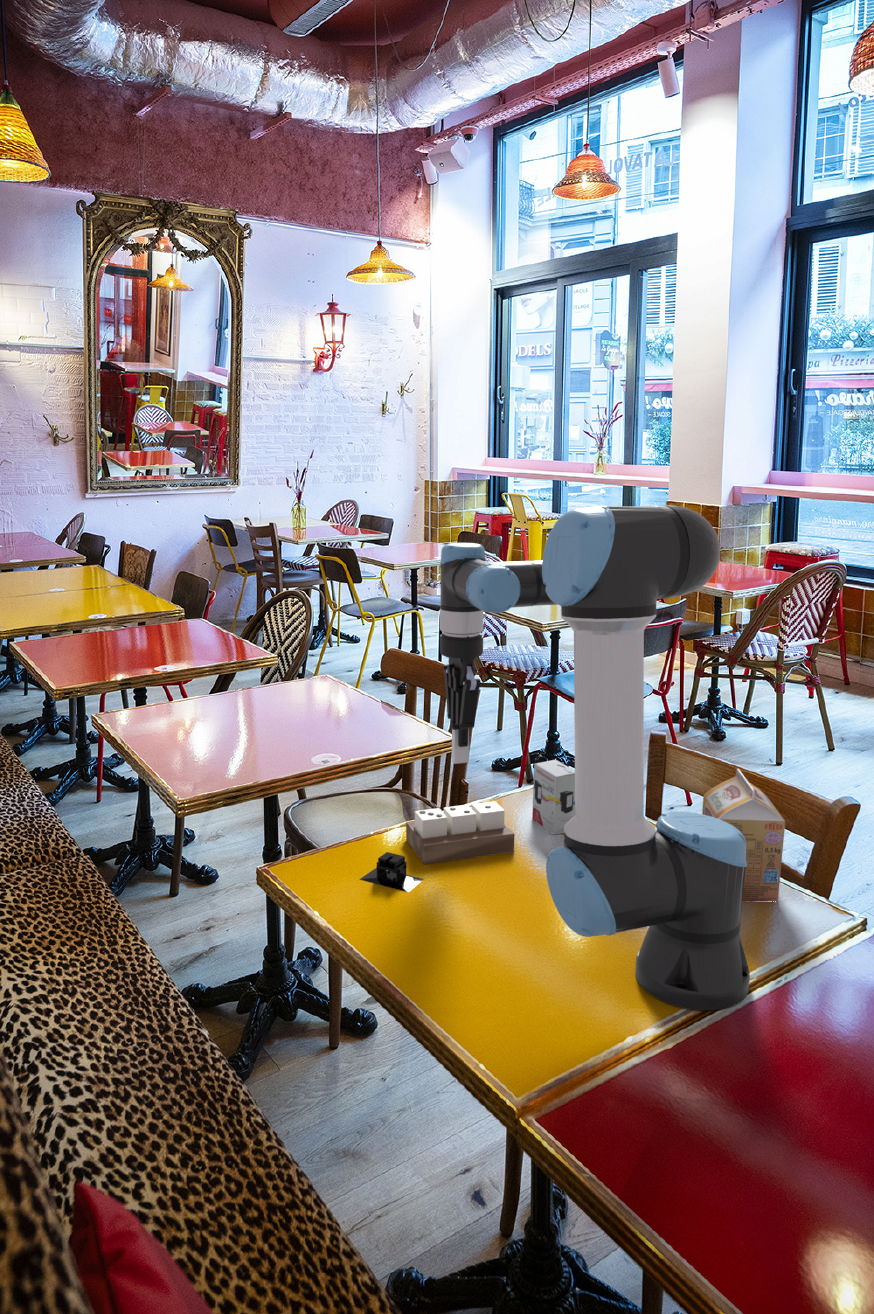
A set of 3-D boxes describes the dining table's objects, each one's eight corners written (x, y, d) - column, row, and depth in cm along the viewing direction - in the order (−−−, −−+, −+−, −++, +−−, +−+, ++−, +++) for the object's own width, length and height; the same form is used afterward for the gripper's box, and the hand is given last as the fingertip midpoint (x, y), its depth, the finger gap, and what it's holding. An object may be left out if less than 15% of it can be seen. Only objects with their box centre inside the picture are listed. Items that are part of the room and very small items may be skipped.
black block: (349, 882, 161) (348, 857, 160) (372, 866, 167) (372, 841, 166) (413, 899, 155) (413, 873, 154) (434, 881, 161) (434, 856, 160)
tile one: (504, 833, 174) (504, 809, 173) (480, 836, 172) (480, 812, 171) (494, 823, 178) (495, 800, 177) (471, 826, 177) (471, 803, 176)
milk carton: (777, 903, 153) (788, 791, 149) (711, 900, 154) (719, 789, 150) (760, 873, 163) (769, 769, 159) (698, 871, 164) (705, 767, 160)
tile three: (447, 841, 170) (447, 816, 169) (422, 844, 169) (422, 820, 168) (438, 831, 175) (439, 807, 174) (414, 834, 173) (414, 810, 172)
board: (514, 851, 172) (514, 833, 171) (424, 864, 166) (424, 845, 166) (491, 828, 182) (491, 811, 181) (406, 839, 176) (406, 821, 176)
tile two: (475, 837, 172) (476, 813, 171) (451, 840, 171) (452, 816, 170) (467, 827, 176) (467, 804, 175) (443, 830, 175) (443, 807, 174)
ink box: (531, 819, 186) (532, 762, 184) (552, 815, 188) (554, 758, 186) (554, 835, 179) (556, 776, 176) (576, 831, 181) (578, 772, 178)
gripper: (495, 638, 160) (493, 771, 166) (469, 624, 172) (467, 748, 178) (453, 641, 158) (452, 776, 163) (429, 626, 170) (429, 752, 175)
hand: (460, 761), depth 170 cm, fingers closed
